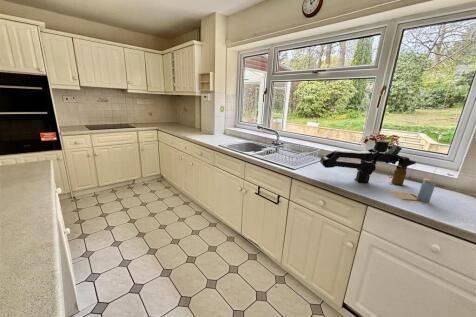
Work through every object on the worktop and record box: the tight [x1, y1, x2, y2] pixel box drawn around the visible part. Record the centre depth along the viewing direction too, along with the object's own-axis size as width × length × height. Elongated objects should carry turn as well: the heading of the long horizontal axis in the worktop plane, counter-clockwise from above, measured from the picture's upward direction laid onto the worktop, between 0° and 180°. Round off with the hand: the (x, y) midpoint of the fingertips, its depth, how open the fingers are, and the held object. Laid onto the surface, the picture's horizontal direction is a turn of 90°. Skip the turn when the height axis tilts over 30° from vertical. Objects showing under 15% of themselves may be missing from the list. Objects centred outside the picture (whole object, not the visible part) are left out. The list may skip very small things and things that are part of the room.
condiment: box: [389, 165, 408, 187], centre depth 131 cm, size 7×8×12 cm
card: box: [388, 190, 433, 205], centre depth 114 cm, size 15×13×1 cm
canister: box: [417, 177, 437, 204], centre depth 108 cm, size 5×5×12 cm
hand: (410, 160), depth 128 cm, fingers open, 9 cm apart
